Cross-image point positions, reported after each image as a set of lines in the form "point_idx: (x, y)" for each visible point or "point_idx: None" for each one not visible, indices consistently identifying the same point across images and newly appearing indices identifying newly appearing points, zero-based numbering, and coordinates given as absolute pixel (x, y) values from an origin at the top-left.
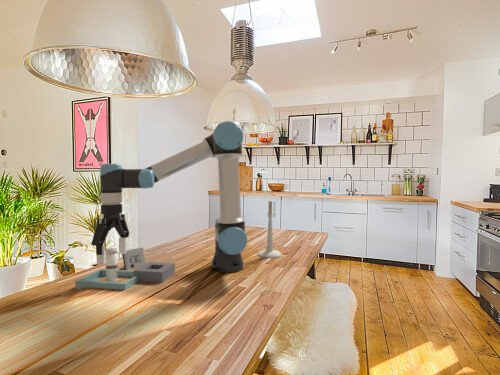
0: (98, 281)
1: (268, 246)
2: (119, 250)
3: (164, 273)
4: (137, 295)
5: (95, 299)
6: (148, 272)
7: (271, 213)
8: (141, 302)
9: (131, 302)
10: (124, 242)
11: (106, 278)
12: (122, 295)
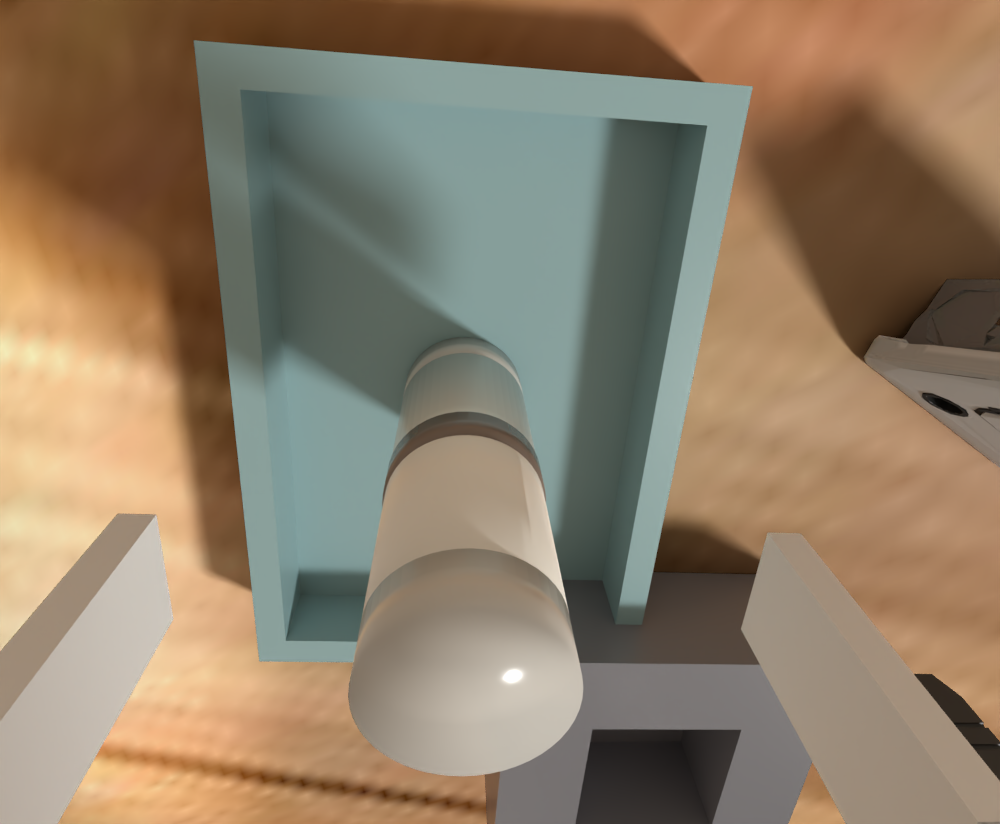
0: (254, 382)
1: None
2: (791, 579)
3: None
4: (250, 702)
5: (66, 455)
6: (497, 777)
7: None
8: (144, 769)
9: (121, 719)
10: (849, 815)
11: (411, 382)
12: (217, 610)
